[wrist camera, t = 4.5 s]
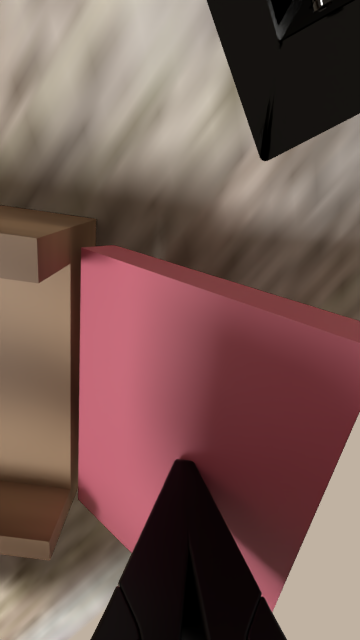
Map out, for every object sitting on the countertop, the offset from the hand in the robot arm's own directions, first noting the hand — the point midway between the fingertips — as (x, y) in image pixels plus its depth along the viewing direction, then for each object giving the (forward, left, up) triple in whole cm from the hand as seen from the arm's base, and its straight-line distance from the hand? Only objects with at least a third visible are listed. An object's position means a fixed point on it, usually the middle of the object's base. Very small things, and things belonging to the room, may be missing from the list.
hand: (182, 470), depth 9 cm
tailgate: (0, +4, -3) cm, 4 cm away
